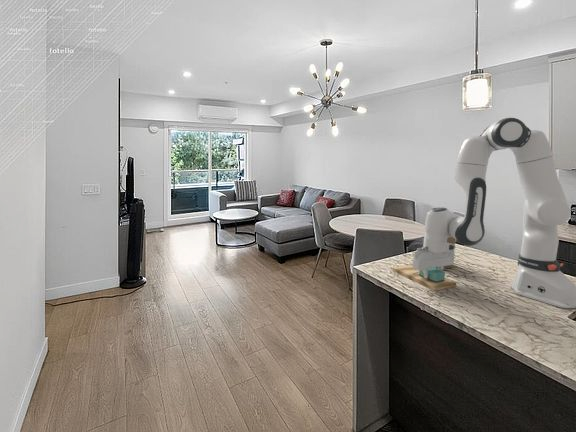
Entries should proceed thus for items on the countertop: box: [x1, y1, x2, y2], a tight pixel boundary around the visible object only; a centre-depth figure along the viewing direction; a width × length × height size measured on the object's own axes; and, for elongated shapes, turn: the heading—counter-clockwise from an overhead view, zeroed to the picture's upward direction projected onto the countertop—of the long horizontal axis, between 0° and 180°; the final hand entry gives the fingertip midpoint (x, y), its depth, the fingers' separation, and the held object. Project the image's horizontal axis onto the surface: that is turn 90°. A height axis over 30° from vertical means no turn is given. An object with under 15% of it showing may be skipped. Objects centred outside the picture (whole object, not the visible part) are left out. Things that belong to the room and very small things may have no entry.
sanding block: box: [419, 267, 446, 283], centre depth 134 cm, size 9×5×4 cm, turn 22°
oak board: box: [392, 263, 458, 291], centre depth 139 cm, size 25×12×2 cm, turn 23°
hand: (432, 276), depth 134 cm, fingers closed on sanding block, 5 cm apart
